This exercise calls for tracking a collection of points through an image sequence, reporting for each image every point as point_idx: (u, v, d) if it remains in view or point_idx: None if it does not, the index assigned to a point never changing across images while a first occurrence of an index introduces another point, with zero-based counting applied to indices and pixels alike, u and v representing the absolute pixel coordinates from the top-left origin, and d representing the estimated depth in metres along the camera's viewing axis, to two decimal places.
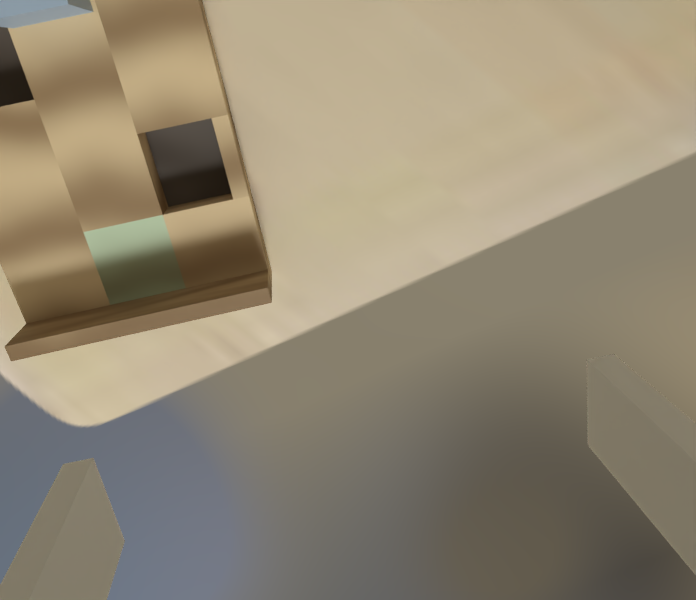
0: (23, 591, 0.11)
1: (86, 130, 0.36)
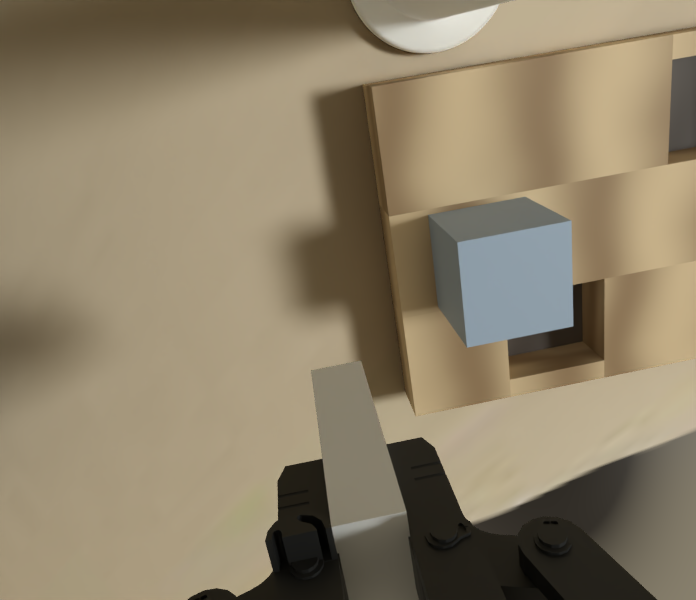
0: (345, 449, 0.14)
1: (650, 226, 0.29)
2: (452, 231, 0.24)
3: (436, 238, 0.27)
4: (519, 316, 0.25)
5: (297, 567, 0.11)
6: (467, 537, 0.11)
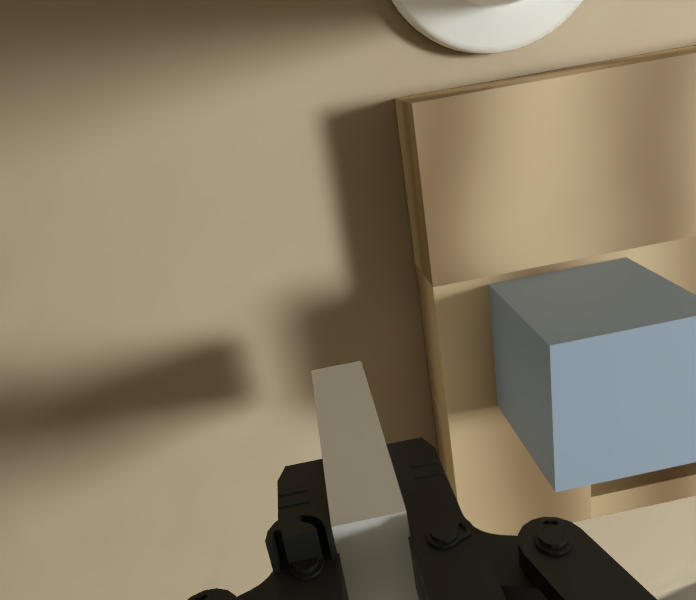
0: (345, 449, 0.14)
1: None
2: (535, 321, 0.16)
3: (503, 321, 0.18)
4: (635, 447, 0.16)
5: (297, 567, 0.11)
6: (467, 537, 0.11)
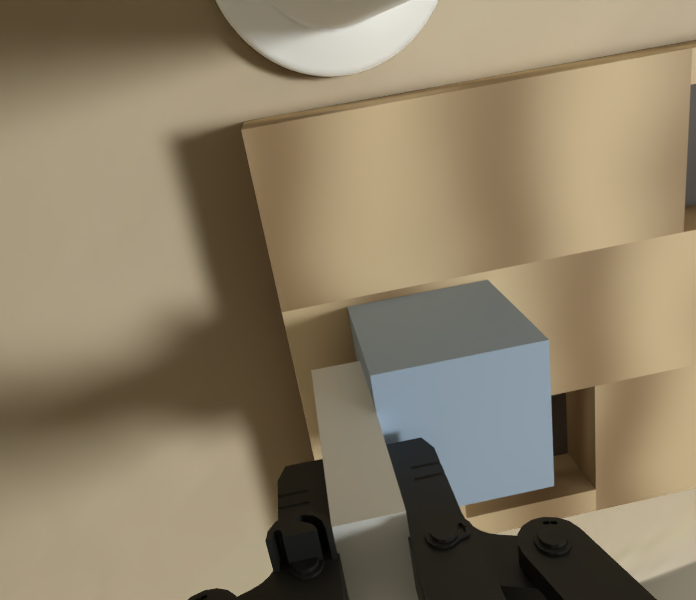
0: (345, 449, 0.14)
1: (658, 316, 0.20)
2: (370, 349, 0.16)
3: (356, 345, 0.18)
4: (472, 475, 0.16)
5: (297, 567, 0.11)
6: (467, 537, 0.11)
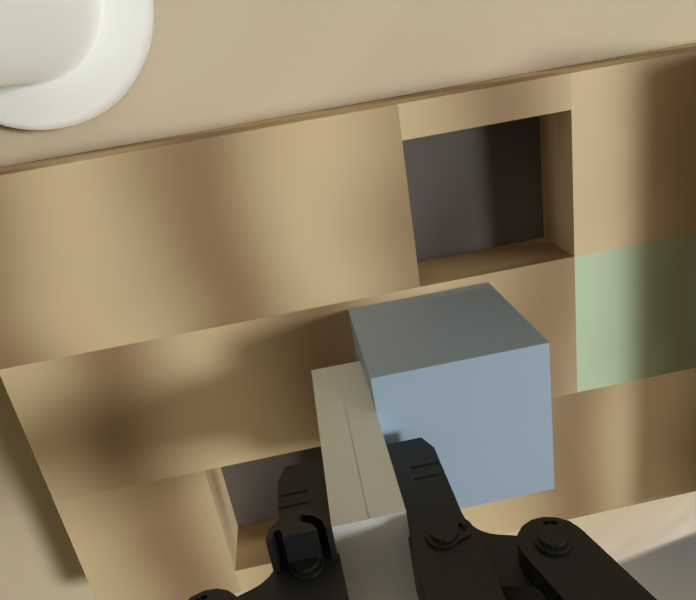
0: (346, 449, 0.14)
1: None
2: (371, 351, 0.16)
3: (356, 347, 0.18)
4: (472, 477, 0.16)
5: (297, 567, 0.11)
6: (467, 537, 0.11)
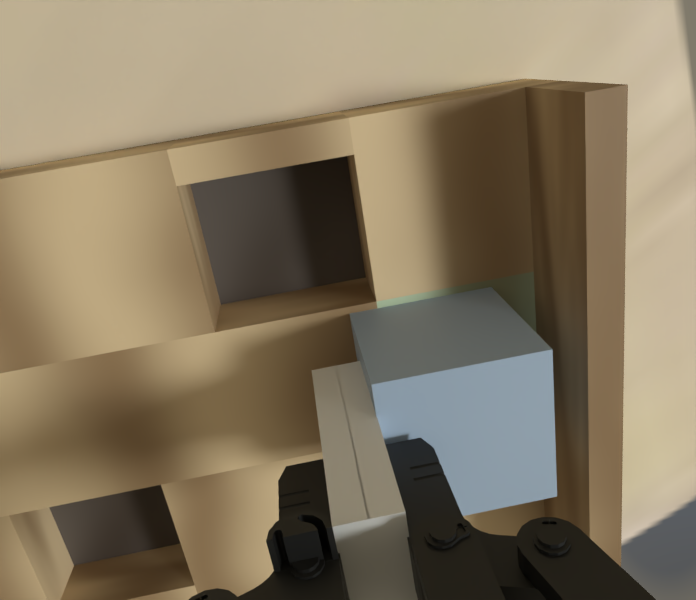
0: (346, 449, 0.14)
1: (211, 415, 0.20)
2: (372, 357, 0.16)
3: (358, 352, 0.18)
4: (474, 485, 0.16)
5: (298, 567, 0.11)
6: (466, 537, 0.11)
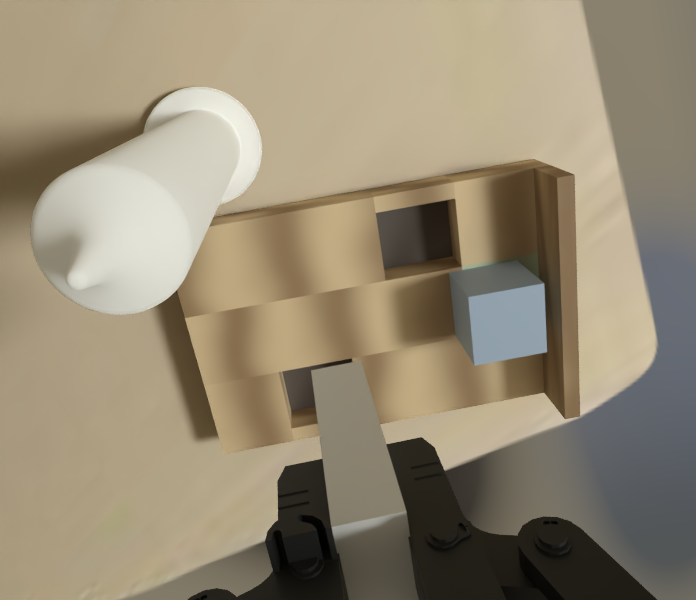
0: (345, 449, 0.14)
1: (380, 322, 0.40)
2: (465, 288, 0.37)
3: (454, 289, 0.39)
4: (510, 345, 0.37)
5: (297, 567, 0.11)
6: (467, 537, 0.11)
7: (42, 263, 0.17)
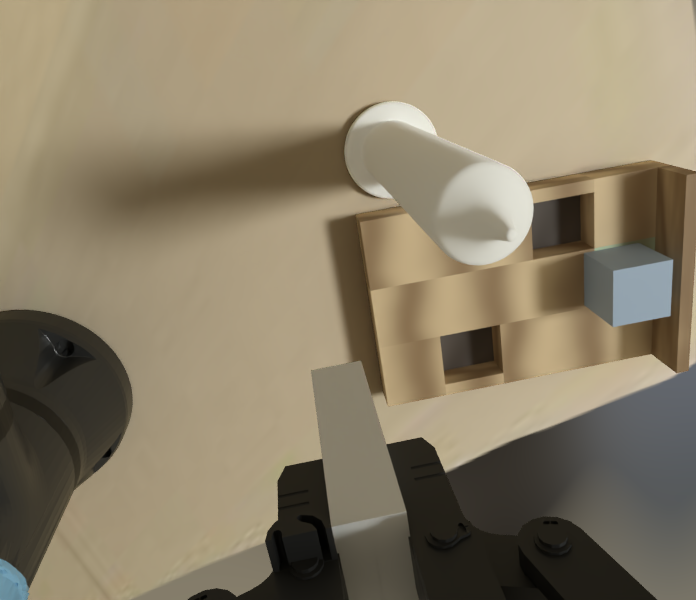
0: (345, 449, 0.14)
1: (525, 294, 0.49)
2: (606, 264, 0.45)
3: (590, 266, 0.47)
4: (642, 310, 0.45)
5: (297, 567, 0.11)
6: (467, 537, 0.11)
7: (440, 228, 0.26)
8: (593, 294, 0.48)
